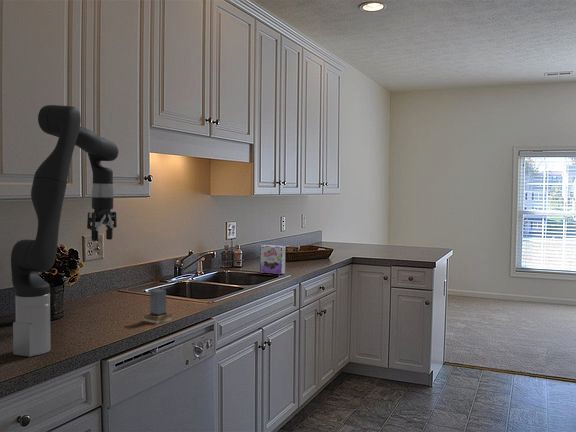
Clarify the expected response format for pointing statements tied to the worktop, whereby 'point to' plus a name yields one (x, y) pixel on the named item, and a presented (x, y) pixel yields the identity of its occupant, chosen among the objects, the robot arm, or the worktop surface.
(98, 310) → the worktop surface
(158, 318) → the socket
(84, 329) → the worktop surface
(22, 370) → the worktop surface
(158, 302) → the grey tall block
